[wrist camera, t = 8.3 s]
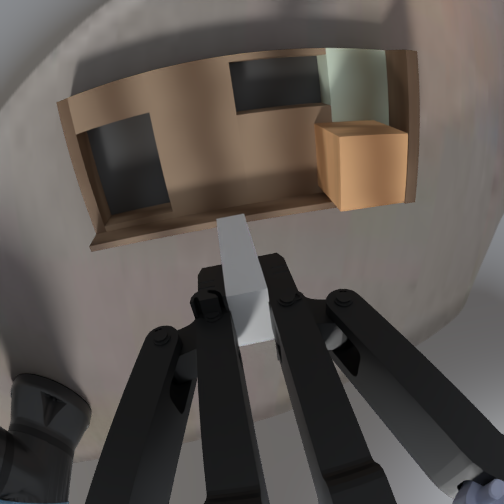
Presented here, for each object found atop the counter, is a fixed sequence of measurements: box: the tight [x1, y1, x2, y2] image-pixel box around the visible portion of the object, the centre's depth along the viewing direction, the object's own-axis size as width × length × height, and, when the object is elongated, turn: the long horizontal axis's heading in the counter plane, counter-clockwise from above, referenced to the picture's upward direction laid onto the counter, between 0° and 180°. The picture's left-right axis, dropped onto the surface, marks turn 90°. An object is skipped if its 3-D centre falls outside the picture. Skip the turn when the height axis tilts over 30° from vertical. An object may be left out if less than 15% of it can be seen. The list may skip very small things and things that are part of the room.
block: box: [314, 120, 408, 211], centre depth 21 cm, size 5×5×5 cm
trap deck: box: [57, 48, 420, 252], centre depth 21 cm, size 26×12×6 cm, turn 97°
